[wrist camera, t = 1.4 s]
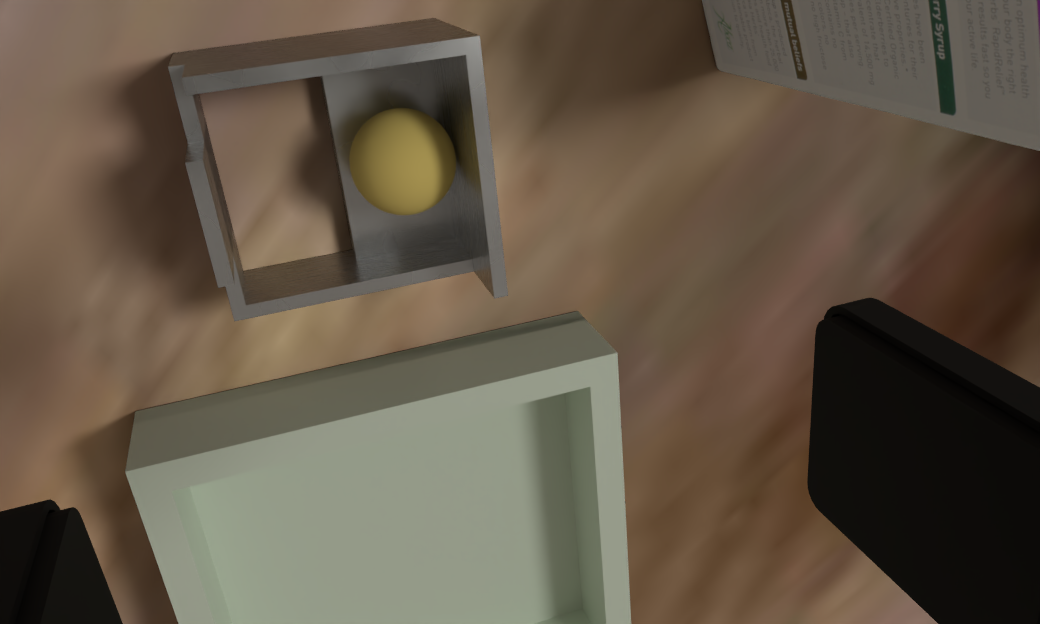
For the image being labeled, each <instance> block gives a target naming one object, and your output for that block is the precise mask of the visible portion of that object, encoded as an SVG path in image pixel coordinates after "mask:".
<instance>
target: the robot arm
mask: <svg viewBox="0 0 1040 624" xmlns="http://www.w3.org/2000/svg"><path fill="white" fill-rule="evenodd" d="M808 490H809V494H810V497H811V499H812V501H813V503H814V505H815V506H816V508H817V509H818V510H819V511H820V512H821V513H822V514H823V515H824V516H825V517H826V518H827V519H828V520H829V521H830V522H832V523H833V524H834V525H835V526H836V527H837V528H838V529H839V530H840V531H841V532H842V533H843V534H844V535H845V536H846V537H847V538H848V539H850V540H851V541H852V542H853V543H854V544H855V545H856V546H857V547H858V548H859V549H860V550H861V551H862V552H863V553H864V554H865V555H866V556H867V557H869V558H870V559H871V560H872V561H873V562H874V563H875V564H876V565H877V566H878V567H879V568H880V569H881V570H882V571H883V572H884V573H885V574H886V575H888V576H889V577H890V578H891V579H892V580H893V581H894V582H895V583H896V584H897V585H898V586H899V587H900V588H901V589H902V590H903V591H904V592H906V593H907V594H908V595H909V596H910V597H911V598H912V599H913V600H914V601H915V602H916V603H917V604H918V605H919V606H920V607H921V608H922V609H923V610H925V611H926V612H927V613H928V614H929V615H930V616H931V617H932V618H933V619H934V620H935V621H936V622H937V623H938V624H1040V387H1038V386H1036V385H1034V384H1032V383H1030V382H1029V381H1027V380H1025V379H1023V378H1021V377H1019V376H1018V375H1016V374H1014V373H1012V372H1010V371H1008V370H1006V369H1005V368H1003V367H1001V366H999V365H997V364H995V363H994V362H992V361H990V360H988V359H986V358H984V357H983V356H981V355H979V354H977V353H975V352H973V351H971V350H970V349H968V348H966V347H964V346H962V345H960V344H959V343H957V342H955V341H953V340H951V339H949V338H948V337H946V336H944V335H942V334H940V333H938V332H937V331H935V330H933V329H931V328H929V327H927V326H925V325H924V324H922V323H920V322H918V321H916V320H914V319H913V318H911V317H909V316H907V315H905V314H903V313H902V312H900V311H898V310H896V309H894V308H892V307H890V306H889V305H887V304H885V303H883V302H881V301H879V300H877V299H874V298H866V299H862V300H857V301H853V302H849V303H845V304H841V305H837V306H833V307H831V308H830V309H829V310H828V311H827V313H826V314H825V316H824V320H822V321H820V322H819V324H818V325H817V328H816V334H815V353H814V371H813V390H812V408H811V427H810V445H809V464H808ZM0 624H123V623H122V621H121V618H120V615H119V613H118V610H117V608H116V605H115V603H114V600H113V597H112V595H111V592H110V590H109V587H108V584H107V582H106V579H105V577H104V574H103V572H102V569H101V566H100V564H99V561H98V559H97V556H96V553H95V551H94V548H93V546H92V543H91V540H90V538H89V535H88V533H87V530H86V528H85V525H84V522H83V520H82V518H81V515H80V513H79V512H78V510H77V509H76V508H74V507H72V508H68V509H64V510H60V509H59V507H58V505H57V504H56V503H55V502H54V501H52V500H46V501H42V502H38V503H34V504H30V505H25V506H21V507H17V508H13V509H9V510H5V511H1V512H0Z"/></svg>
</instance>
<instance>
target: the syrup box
mask: <svg viewBox="0 0 1040 624" xmlns="http://www.w3.org/2000/svg"><path fill="white" fill-rule="evenodd" d="M702 3H703V8H704V12H705V17H706V21H707V26H708V30H709V34H710V39H711V44H712V48H713V52H714V57H715V61H716V66H717V68H718V69H719V70H720V71H722V72H726V73H730V74H734V75H738V76H743V77H747V78H751V79H755V80H759V81H763V82H767V83H771V84H775V85H779V86H783V87H787V88H791V89H795V90H799V91H803V92H807V93H811V94H815V95H819V96H823V97H827V98H831V99H835V100H839V101H843V102H847V103H852V104H856V105H860V106H864V107H868V108H872V109H876V110H880V111H885V112H888V113H892V114H896V115H900V116H904V117H907V118H911V119H915V120H919V121H923V122H927V123H931V124H935V125H939V126H943V127H946V128H950V129H954V130H958V131H962V132H966V133H971V134H975V135H979V136H982V137H986V138H990V139H994V140H998V141H1002V142H1005V143H1009V144H1013V145H1018V146H1022V147H1026V148H1030V149H1034V150H1039V151H1040V0H702Z"/></svg>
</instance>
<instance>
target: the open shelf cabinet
mask: <svg viewBox="0 0 1040 624" xmlns="http://www.w3.org/2000/svg"><path fill="white" fill-rule="evenodd" d="M168 69H169V73H170V77H171V81H172V84H173V88H174V92H175V96H176V100H177V104H178V107H179V111H180V115H181V119H182V123H183V126H184V130H185V134H186V138H187V142H188V145H187V152H186V160H185V165H186V168H187V172H188V176H189V180H190V183H191V187H192V191H193V195H194V199H195V202H196V206H197V210H198V214H199V217H200V221H201V225H202V229H203V232H204V236H205V240H206V244H207V247H208V251H209V255H210V259H211V262H212V266H213V270H214V274H215V277H216V281H217V285H218V288H220V287H226V291H227V294H228V298H229V302H230V306H231V310H232V314H233V317H234V321H239V320H243V319H248V318H253V317H258V316H263V315H267V314H272V313H277V312H282V311H286V310H291V309H296V308H301V307H306V306H310V305H315V304H320V303H325V302H330V301H334V300H339V299H344V298H349V297H354V296H358V295H363V294H368V293H373V292H377V291H382V290H387V289H392V288H397V287H401V286H406V285H411V284H416V283H421V282H425V281H430V280H435V279H440V278H445V277H449V276H454V275H459V274H464V273H469V272H473V271H474V272H475V274H476V275H477V276H478V278H479V279H480V280H481V281H482V283H483V284H484V285H485V287H486V288H487V289H488V291H489V292H490V293H491V295H492V296H493V297H494V298H499V297H503V296H508V291H507V281H506V272H505V263H504V254H503V245H502V235H501V226H500V217H499V208H498V199H497V190H496V180H495V171H494V162H493V153H492V144H491V134H490V125H489V116H488V107H487V98H486V88H485V79H484V70H483V61H482V52H481V43H480V36H479V35H477V34H474V33H471V32H469V31H466V30H464V29H461V28H459V27H456V26H454V25H451V24H449V23H446V22H444V21H441V20H438V19H436V18H432V19H424V20H417V21H409V22H402V23H394V24H387V25H379V26H372V27H364V28H357V29H350V30H342V31H335V32H327V33H320V34H312V35H305V36H297V37H290V38H282V39H275V40H268V41H260V42H253V43H245V44H238V45H230V46H223V47H215V48H208V49H200V50H193V51H186V52H178V53H173V55H172V57H171V60H170V63H169V66H168ZM318 76H320V79H321V84H322V89H323V95H324V100H325V105H326V110H327V116H328V121H329V126H330V132H331V137H332V142H333V148H334V153H335V158H336V163H337V169H338V174H339V179H340V185H341V190H342V195H343V200H344V206H345V211H346V216H347V222H348V227H349V232H350V238H351V243H352V248H353V250H350V251H344V252H339V253H334V254H329V255H324V256H319V257H314V258H309V259H304V260H298V261H293V262H288V263H283V264H278V265H273V266H268V267H263V268H258V269H252V270H247V271H243V268H242V264H241V260H240V256H239V252H238V248H237V244H236V240H235V236H234V232H233V228H232V224H231V220H230V216H229V212H228V208H227V204H226V200H225V196H224V192H223V188H222V184H221V180H220V176H219V172H218V168H217V164H216V160H215V156H214V152H213V149H212V145H211V141H210V137H209V133H208V129H207V125H206V121H205V117H204V113H203V109H202V105H201V101H200V97H199V94H201V93H208V92H215V91H222V90H229V89H235V88H242V87H249V86H256V85H263V84H270V83H276V82H283V81H290V80H297V79H304V78H311V77H318ZM394 108H409V109H414V110H418V111H421V112H423V113H425V114H427V115H429V116H430V117H432V118H434V119H435V120H436V121H437V122H438V123H440V124H441V126H442V127H443V128H444V129H445V131H446V132H447V134H448V135H449V137H450V139H451V141H452V143H453V146H454V150H455V155H456V171H455V176H454V179H453V182H452V185H451V187H450V189H449V190H448V192H447V193H446V195H445V196H444V197H443V198H442V199H441V200H440V201H439V202H438V203H437V204H436V205H435V206H433V207H431V208H430V209H428V210H426V211H424V212H421V213H417V214H413V215H395V214H391V213H387V212H384V211H382V210H380V209H378V208H376V207H375V206H373V205H372V204H370V203H369V202H368V201H367V200H366V199H365V198H364V197H363V196H362V194H361V193H360V192H359V191H358V189H357V187H356V185H355V184H354V181H353V179H352V175H351V171H350V164H349V156H350V149H351V146H352V142H353V140H354V138H355V136H356V134H357V132H358V131H359V129H360V128H361V127H362V125H363V124H364V123H365V122H366V121H367V120H369V119H370V118H371V117H373V116H374V115H376V114H378V113H380V112H383V111H385V110H389V109H394Z"/></svg>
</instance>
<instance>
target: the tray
mask: <svg viewBox="0 0 1040 624" xmlns="http://www.w3.org/2000/svg"><path fill="white" fill-rule="evenodd" d="M125 473H126V476H127V479H128V481H129V484H130V487H131V490H132V493H133V496H134V498H135V501H136V504H137V507H138V510H139V513H140V516H141V518H142V521H143V524H144V527H145V530H146V533H147V535H148V538H149V541H150V544H151V547H152V550H153V552H154V555H155V558H156V561H157V564H158V567H159V570H160V572H161V575H162V578H163V581H164V584H165V587H166V589H167V592H168V595H169V598H170V601H171V604H172V607H173V609H174V612H175V615H176V618H177V621H178V624H631V612H630V592H629V572H628V553H627V533H626V513H625V494H624V474H623V454H622V435H621V415H620V395H619V376H618V356H617V352H616V351H615V350H614V349H613V348H612V347H611V345H610V344H609V343H608V342H607V341H606V340H605V339H604V338H603V337H602V336H601V335H600V334H599V333H598V332H597V331H596V330H595V329H594V328H593V327H592V326H591V324H590V323H589V322H588V321H587V320H586V319H585V318H584V317H583V316H582V315H581V314H580V313H579V312H578V311H576V312H572V313H567V314H563V315H558V316H554V317H550V318H545V319H541V320H536V321H532V322H528V323H523V324H519V325H514V326H510V327H506V328H501V329H497V330H492V331H488V332H484V333H479V334H475V335H470V336H466V337H461V338H457V339H453V340H448V341H444V342H439V343H435V344H431V345H426V346H422V347H417V348H413V349H409V350H404V351H400V352H395V353H391V354H387V355H382V356H378V357H373V358H369V359H365V360H360V361H356V362H351V363H347V364H342V365H338V366H334V367H329V368H325V369H320V370H316V371H312V372H307V373H303V374H298V375H294V376H290V377H285V378H281V379H276V380H272V381H268V382H263V383H259V384H254V385H250V386H246V387H241V388H237V389H232V390H228V391H223V392H219V393H215V394H210V395H206V396H201V397H197V398H193V399H188V400H184V401H179V402H175V403H171V404H166V405H162V406H157V407H153V408H149V409H144V410H140V411H135V417H134V423H133V429H132V434H131V440H130V446H129V452H128V458H127V464H126V470H125Z"/></svg>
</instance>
